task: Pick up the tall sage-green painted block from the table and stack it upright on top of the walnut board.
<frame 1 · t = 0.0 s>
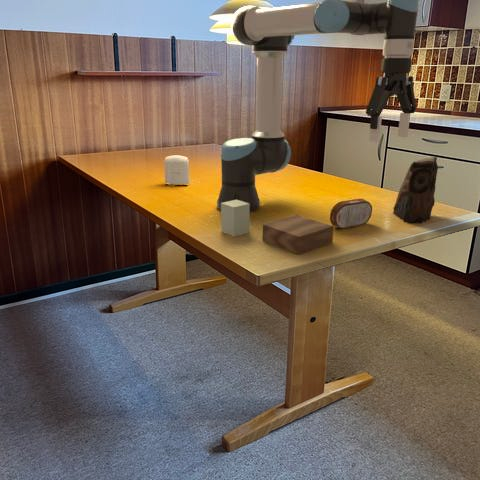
hand: (388, 139, 135), 28 cm above the table, fingers open, 13 cm apart
walnut board: (297, 241, 139), on the table
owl: (411, 217, 161), on the table
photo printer: (177, 185, 204), on the table
tin: (350, 227, 152), on the table
sage block: (235, 232, 147), on the table
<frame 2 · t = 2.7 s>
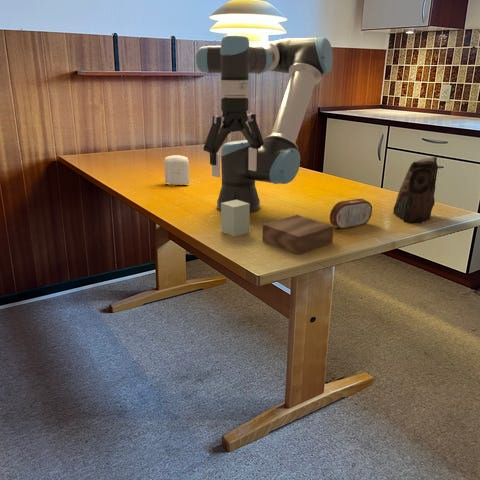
hand: (234, 173, 141), 18 cm above the table, fingers open, 13 cm apart
nothing on the table moved.
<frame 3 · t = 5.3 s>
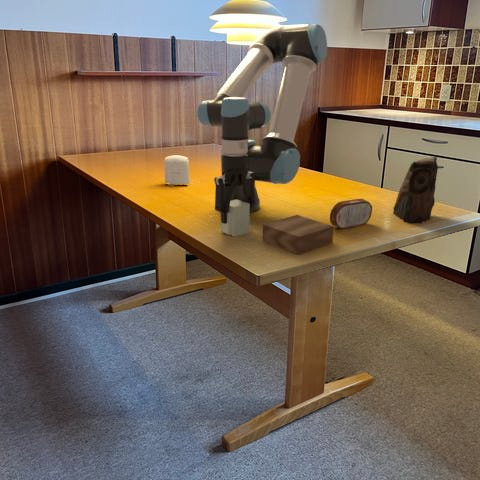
hand: (235, 230, 147), 0 cm above the table, fingers closed on sage block, 6 cm apart
sage block: (235, 232, 147), on the table, touching gripper
everything else where it was.
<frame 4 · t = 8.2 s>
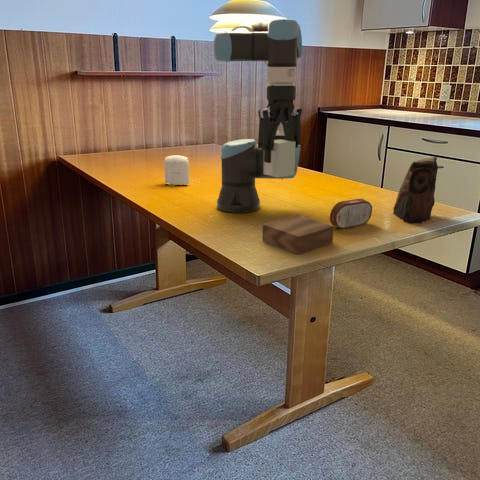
hand: (278, 172, 134), 19 cm above the table, fingers closed on sage block, 6 cm apart
sage block: (278, 174, 134), point 19 cm above the table, touching gripper
everything else where it was.
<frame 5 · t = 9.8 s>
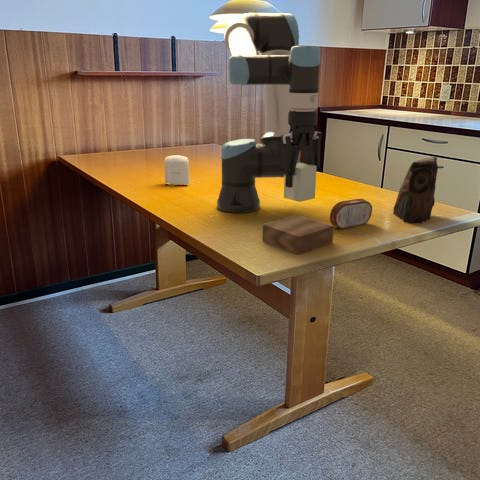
hand: (299, 196, 134), 13 cm above the table, fingers closed on sage block, 6 cm apart
sage block: (299, 197, 134), point 13 cm above the table, touching gripper
everything else where it was.
when the fingers open (7 cm above the table, at t = 11.2 s): sage block drops 1 cm, resting on walnut board.
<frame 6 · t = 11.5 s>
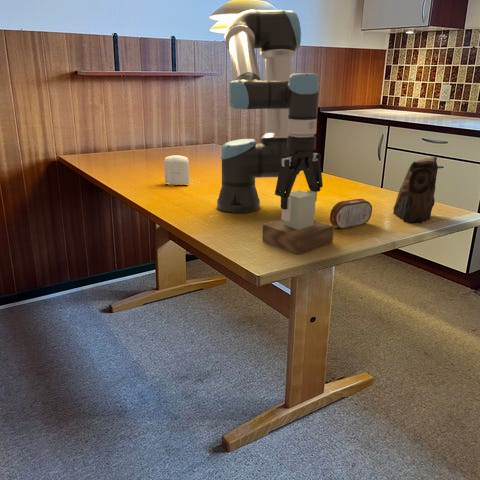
hand: (298, 216, 136), 8 cm above the table, fingers open, 9 cm apart
sage block: (298, 225, 137), point 5 cm above the table, touching walnut board
everything else where it was.
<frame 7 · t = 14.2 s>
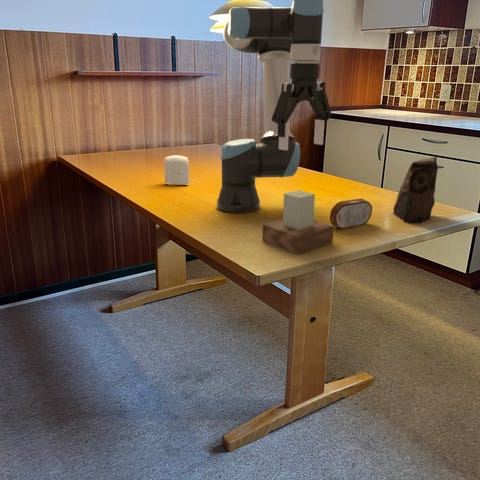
hand: (301, 146, 131), 27 cm above the table, fingers open, 13 cm apart
nothing on the table moved.
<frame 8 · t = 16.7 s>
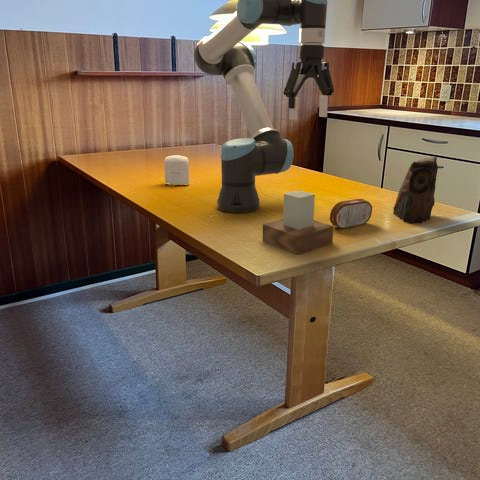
hand: (308, 118, 152), 32 cm above the table, fingers open, 13 cm apart
nothing on the table moved.
at the end: sage block inside the target area on the walnut board (0.0 cm from its centre), point 5.0 cm above the walnut board's base; sage block tilted 0°; sage block touching walnut board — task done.
